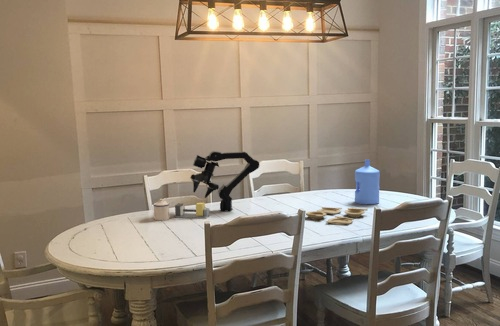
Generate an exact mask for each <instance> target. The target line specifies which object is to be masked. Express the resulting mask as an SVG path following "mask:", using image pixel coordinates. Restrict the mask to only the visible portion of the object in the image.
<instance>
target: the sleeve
mask: <svg viewBox="0 0 500 326" xmlns="http://www.w3.org/2000/svg"><path fill="white" fill-rule="evenodd" d="M205 208H206V203H205V202H199V201H198V202H197V203H196V204H195V210H196V212H195V214H196V216H203V215H204V212H203V210H204V209H205Z"/></svg>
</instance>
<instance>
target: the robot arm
mask: <svg viewBox="0 0 500 326" xmlns="http://www.w3.org/2000/svg"><path fill="white" fill-rule="evenodd" d="M229 159H230V160H232V159H233V160H234V159H243V160H245V162H246V165H245V167H244V168H243V169H242V171H240V173H238V174H237V175H235V177H234V178H233V179H231V181H230V182H228V183H227V184H222V185H221V186H219V184H217V183H216V182H212V178H213V176H214V172H215V169H216V167H219V168H220V164H219V162H218V161H223V160H229ZM192 166H193V167H197V168H200V169H203V168H204V169H203V170H202V171H201V173H200V172H199V173H197V174H193V173H192V174H191V175H190V179H191V181H192V183H193V187H192V188H193V190H192V192H193V193H195V192H197V189H198V187H199V185H200V183H203V184H206V185H207V188H206V191H205V196H204V198H205V199H206V198H208V196H210V194H211V193H213V192H214V191H216V190H217V196H218V197H219V199H220V203H219V210H220V212H232V210H233V198H232V196H231V193H232V190H233V189H235V188H236V187H237V186H238V185H239V184H240V183H241V182H242V181H243V180H244V179H245V178H247V176H248V175H249V174H251V173H253V172H255V171H256V170H258V169H259V168H260V162H259V161H258V160H256V159H254V158H253V157H252V156H251V155H249V154H248V152H246V151H235V152H233V151H231V152H223V151H217V150H216V151H215V150H213V151H211V152H209V154H208V155H207V156H206V157H203V156H201V155H199V154H196V157H195V159H194V160H193V164H192Z"/></svg>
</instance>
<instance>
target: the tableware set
mask: <svg viewBox="0 0 500 326" xmlns="http://www.w3.org/2000/svg"><path fill="white" fill-rule="evenodd" d="M342 209H343V207H327V206H321V208H320V209H319V208H318V209H317V210H316V211H308V212H305V213H306V215H305V216H307V217H309V218H310V220H322V219H323V218H324V217H326V216H327V215H335V216H334V218H329V219H327V220H326V221H325V223H326V224H331V225H337V226H343V225H350V224H352V223H353V221H354V218H360V217H362V215H363V214H365V212H366V211H368V210H369V209H368V208H357V207H355V208H354V207H347V208H346V209H345V210H344V211H343V212H344V213H345V214H347V215H348V217H347V216H339V215H338V214H340V213H341V212H342V211H341V210H342Z"/></svg>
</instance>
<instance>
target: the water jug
mask: <svg viewBox="0 0 500 326" xmlns="http://www.w3.org/2000/svg"><path fill="white" fill-rule="evenodd" d="M370 160H371V159H364V166H361V167H359V168H358V169H355V172H354V181H355V184H356V185H355V188H356V189H355V191H354V202H355V203H356V204H359V205H367V204H371V205H377V204H379V202H380V188H381V187H380V177H381V175H380V170H379V169H376V167H375V168H374V167H372V166H371V165H370V164H371V162H370Z"/></svg>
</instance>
